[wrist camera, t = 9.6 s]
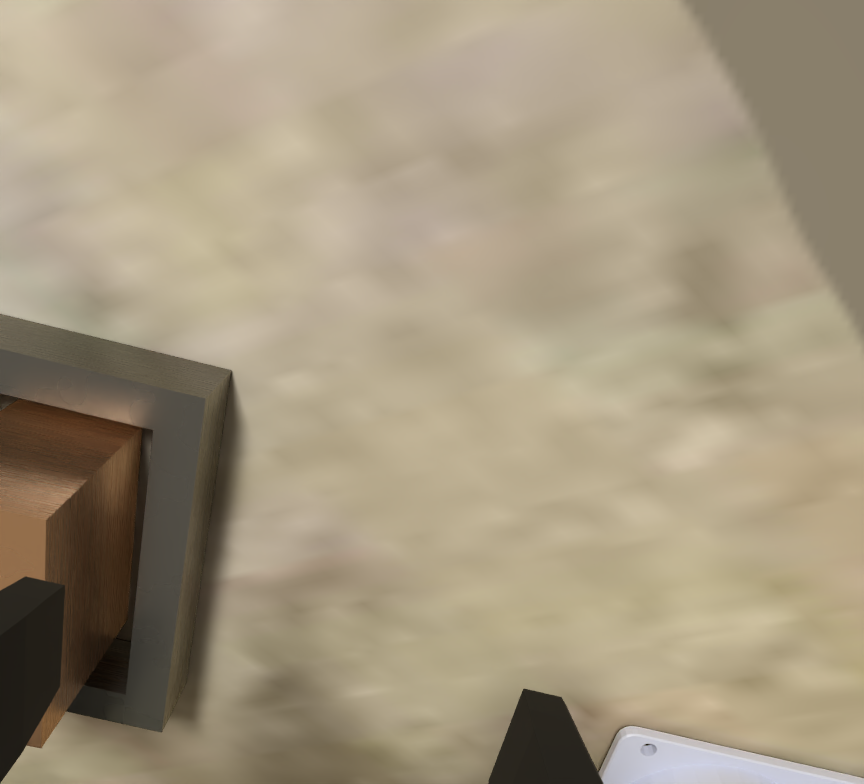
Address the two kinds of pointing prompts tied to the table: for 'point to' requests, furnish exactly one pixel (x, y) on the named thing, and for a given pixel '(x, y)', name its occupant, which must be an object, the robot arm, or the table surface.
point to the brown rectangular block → (70, 527)
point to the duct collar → (165, 500)
